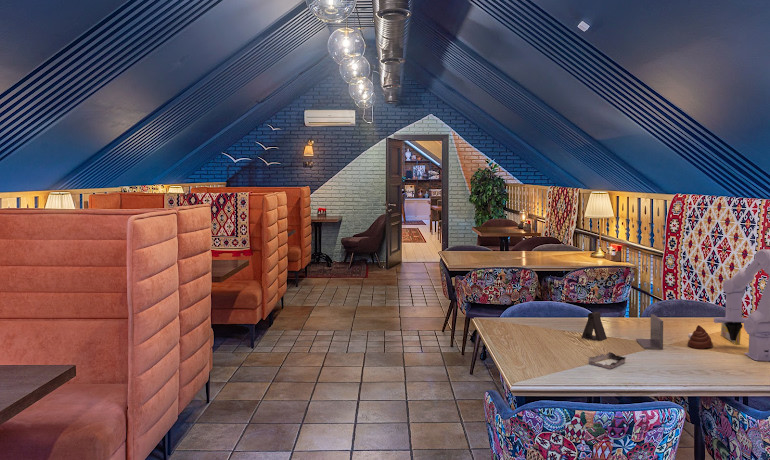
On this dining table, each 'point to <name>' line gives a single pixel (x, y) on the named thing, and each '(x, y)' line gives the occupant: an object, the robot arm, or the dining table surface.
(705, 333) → the poop emoji
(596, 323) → the phone stand
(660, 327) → the bookend
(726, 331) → the candy box
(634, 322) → the dining table surface
